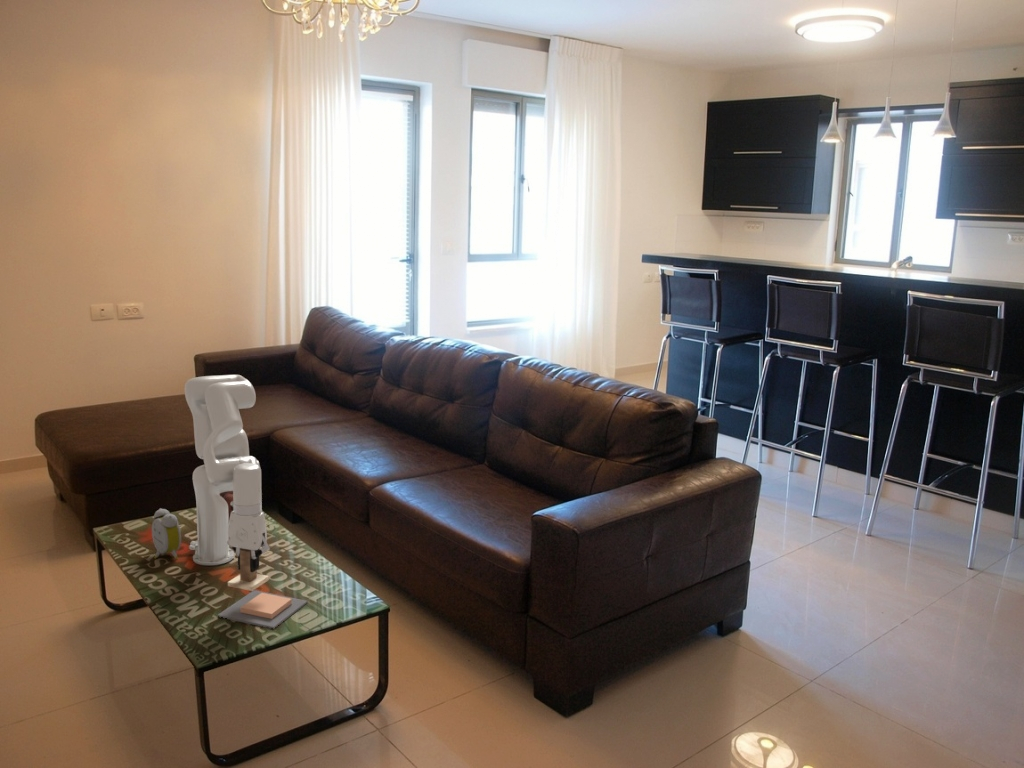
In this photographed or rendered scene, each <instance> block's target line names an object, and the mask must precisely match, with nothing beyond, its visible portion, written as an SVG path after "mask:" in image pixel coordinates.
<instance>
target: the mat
mask: <svg viewBox="0 0 1024 768" xmlns="http://www.w3.org/2000/svg"><path fill="white" fill-rule="evenodd" d="M261 593H266V594H271V595H276V596H280V597H285V598H290V599H292V604H291V605H289V606H288V607H287V608H285V609H284V610H283V611H282V612H280V613H279V614H278V615H276V616H275V617H274V618H272V619H270V618H265V617H260V616H256V615H251V614H246V613H242V612H241V607H242V606H243V605H245V604H246V603H248V602H249V601H251V600H252V599H253V598H255V597H256V596H258V595H259V594H261ZM308 601H309V600H305V599H301V598H294V597H290V596H287V595H281V594H275V593H271V592H267V591H261V590H256V589H255V590H253V591H251V592H249V593H247V594H246V595H245V596H243V597H242V598H241V599H239V600H237V601H235V602H234V603H233V604H232V605H230V606H228V607H227V608H225V609H224V610H223V611H221V612H219V613H218V614H217V617H218V616H219V617H218V618H221V617H223V618H222V619H225V618H227V619H226V620H231V621H236V622H238V623H239V622H240V623H243V624H248V625H253V626H257V627H262V626H263V627H262V628H266V627H269V628H268V629H271V628H273V629H272V630H275V629H276V628H277V627H279V626H280V625H281V624H282V623H284V622H285V621H286V620H287V619H289V618H290V617H291V616H292V615H294V614H295V613H297V612H298V611H299V610H300V609H302V608H303V607H305V605H307V604H308ZM283 621H284V622H283ZM278 625H279V626H278ZM275 627H276V628H275Z"/></svg>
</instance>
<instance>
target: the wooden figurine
mask: <svg viewBox="0 0 1024 768" xmlns="http://www.w3.org/2000/svg"><path fill="white" fill-rule="evenodd" d="M219 495H220V496H221V497H222V498H223V499H224V500H225V501H226V502H227V504H228V516H229V519H230V514H231V512H232V511H234V510H233V506H231V505H230V503H231V501H233V491H228V492H223V493H220V494H219Z"/></svg>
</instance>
